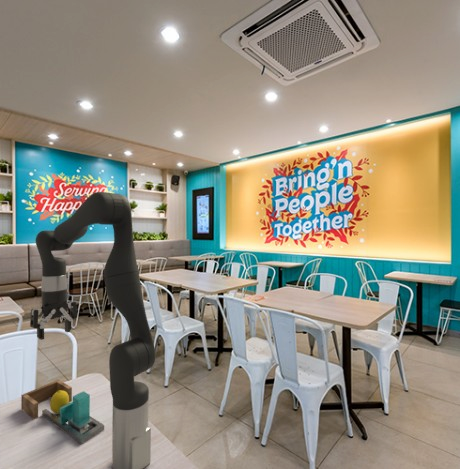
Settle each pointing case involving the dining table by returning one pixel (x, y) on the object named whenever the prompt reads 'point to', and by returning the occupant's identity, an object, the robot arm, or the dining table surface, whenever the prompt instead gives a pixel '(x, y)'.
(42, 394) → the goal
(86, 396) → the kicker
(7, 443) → the dining table surface
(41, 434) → the dining table surface
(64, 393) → the lemon
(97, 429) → the rails
